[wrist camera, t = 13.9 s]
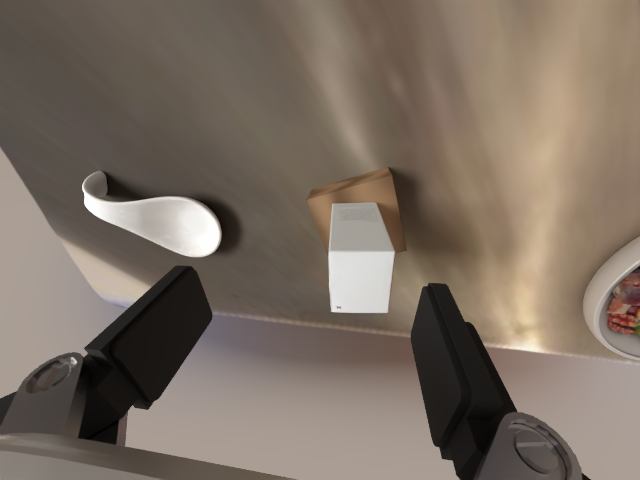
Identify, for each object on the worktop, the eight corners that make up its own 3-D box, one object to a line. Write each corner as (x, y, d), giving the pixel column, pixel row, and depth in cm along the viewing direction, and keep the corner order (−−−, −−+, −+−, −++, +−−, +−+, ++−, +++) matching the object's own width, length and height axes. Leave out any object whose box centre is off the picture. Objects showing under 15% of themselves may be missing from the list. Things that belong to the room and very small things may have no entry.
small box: (374, 250, 36) (388, 315, 25) (333, 250, 37) (329, 313, 26) (377, 200, 32) (396, 251, 21) (331, 201, 33) (326, 251, 22)
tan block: (387, 166, 35) (392, 175, 31) (401, 234, 40) (406, 250, 36) (312, 188, 38) (306, 199, 34) (334, 249, 43) (332, 265, 39)
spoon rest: (234, 204, 41) (213, 222, 35) (224, 255, 47) (204, 278, 41) (98, 151, 39) (51, 160, 33) (106, 211, 45) (67, 227, 39)
